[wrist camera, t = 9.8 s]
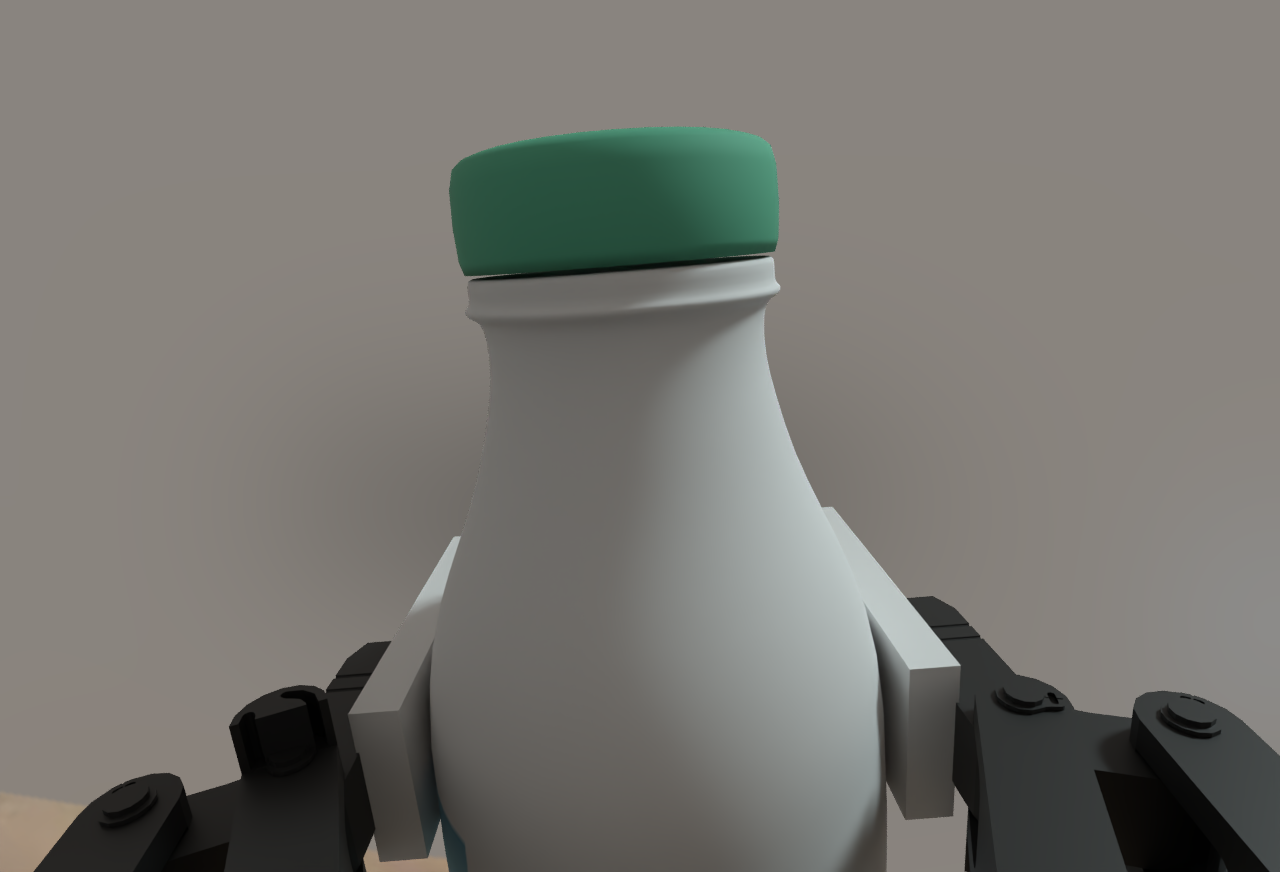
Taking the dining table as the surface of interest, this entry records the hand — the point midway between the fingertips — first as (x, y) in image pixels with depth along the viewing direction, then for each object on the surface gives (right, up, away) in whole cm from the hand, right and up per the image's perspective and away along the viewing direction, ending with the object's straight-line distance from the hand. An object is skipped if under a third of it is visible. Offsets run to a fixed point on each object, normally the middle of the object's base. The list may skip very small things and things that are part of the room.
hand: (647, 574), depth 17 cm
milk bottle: (+1, -12, -2) cm, 12 cm away
